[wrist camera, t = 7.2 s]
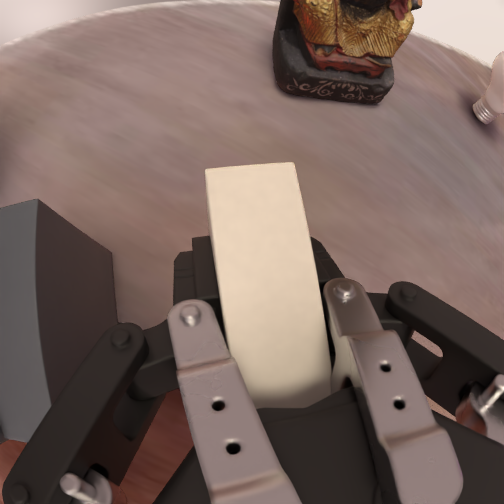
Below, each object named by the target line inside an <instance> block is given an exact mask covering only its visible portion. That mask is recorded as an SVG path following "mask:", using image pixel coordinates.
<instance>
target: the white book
mask: <svg viewBox="0 0 504 504" xmlns="http://www.w3.org/2000/svg"><path fill="white" fill-rule="evenodd" d="M205 185H206V201H207V216H208V230H209V236H210V238H211V245H212V251H213V258H214V265H215V271H216V277H217V284H218V290H219V296H220V304H221V312H222V320H223V328H224V335H225V343H226V346H227V349H228V351H229V354H230V356H231V357H234V358H235V360H236V362H237V364H238V367H239V369H240V372H241V374H242V377H243V379H244V382H245V384H246V387H247V389H248V391H249V394H250V396H251V399H252V401H253V403H254V406H255V408H256V409H259V408H305V407H308V406H310V405H312V404H314V403H316V402H318V401H320V400H322V399H324V398H326V397H328V396H329V395H331V379H330V378H331V375H332V366H331V359H330V352H329V345H328V338H327V331H326V325H325V318H324V312H323V306H322V300H321V294H320V288H319V282H318V277H317V271H316V266H315V260H314V255H313V250H312V245H311V239H310V234H309V229H308V224H307V219H306V215H305V210H304V205H303V200H302V196H301V191H300V187H299V182H298V178H297V173H296V169H295V165H294V163H293V162H284V163H268V164H254V165H242V166H231V167H220V168H211V169H206V170H205Z"/></svg>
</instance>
